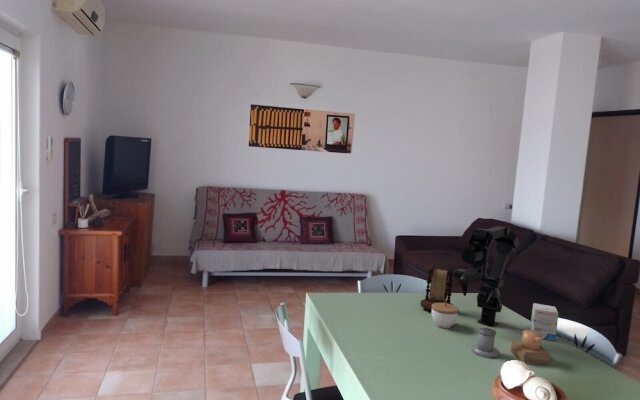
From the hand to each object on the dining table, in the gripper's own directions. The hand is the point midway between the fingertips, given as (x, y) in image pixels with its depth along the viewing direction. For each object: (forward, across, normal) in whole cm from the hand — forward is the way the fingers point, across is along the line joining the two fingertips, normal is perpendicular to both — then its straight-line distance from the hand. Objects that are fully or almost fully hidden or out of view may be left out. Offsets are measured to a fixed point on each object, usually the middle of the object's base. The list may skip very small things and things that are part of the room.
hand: (475, 299), depth 182 cm
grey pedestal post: (+13, +13, -16) cm, 24 cm away
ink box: (+13, +20, +20) cm, 31 cm away
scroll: (+13, -22, +10) cm, 28 cm away
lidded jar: (+13, -10, -5) cm, 17 cm away
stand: (+13, +25, -7) cm, 29 cm away
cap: (+9, +25, -7) cm, 27 cm away
